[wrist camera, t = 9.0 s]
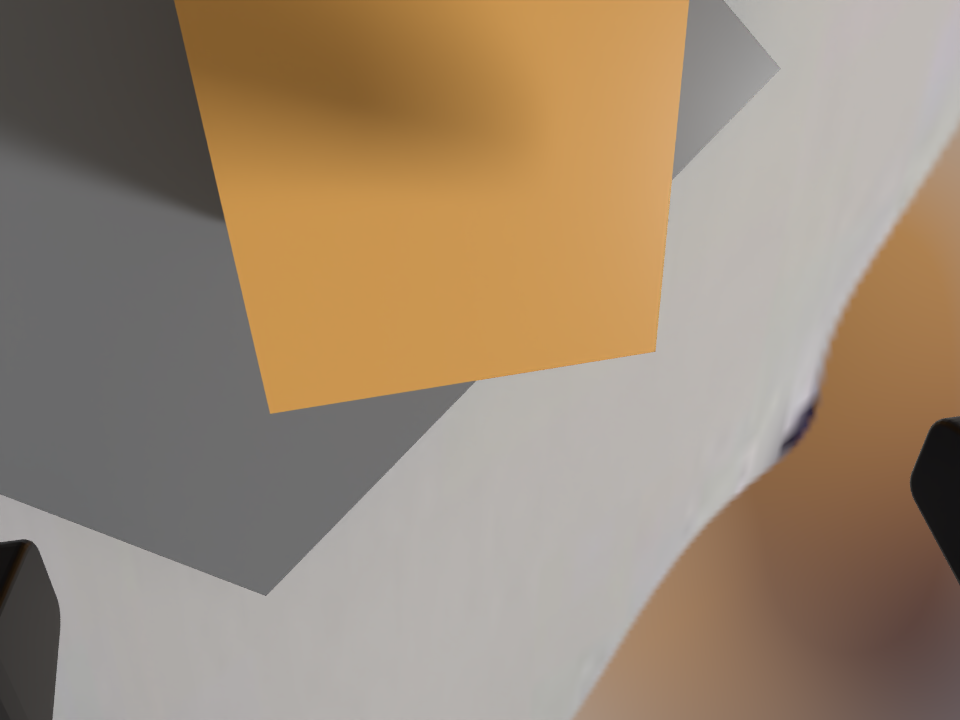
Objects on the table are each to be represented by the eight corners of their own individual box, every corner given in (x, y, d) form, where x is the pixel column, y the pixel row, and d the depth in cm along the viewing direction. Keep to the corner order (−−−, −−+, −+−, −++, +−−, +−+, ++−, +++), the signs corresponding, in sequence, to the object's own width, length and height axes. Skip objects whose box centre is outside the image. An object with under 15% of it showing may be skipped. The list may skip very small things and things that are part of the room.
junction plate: (265, 554, 24) (265, 596, 23) (-218, 355, 18) (-251, 398, 17) (746, 48, 19) (780, 68, 18) (290, -486, 13) (295, -512, 11)
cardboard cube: (563, 216, 18) (655, 351, 14) (266, 256, 17) (270, 413, 13) (569, -117, 14) (695, -69, 10) (194, -89, 13) (168, -24, 9)
